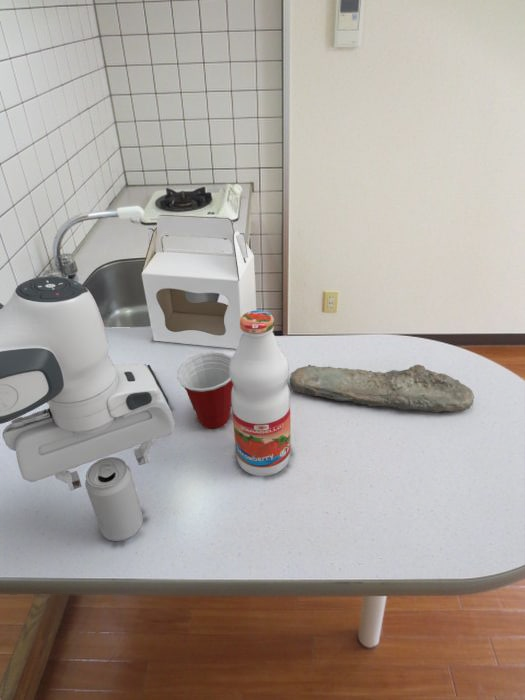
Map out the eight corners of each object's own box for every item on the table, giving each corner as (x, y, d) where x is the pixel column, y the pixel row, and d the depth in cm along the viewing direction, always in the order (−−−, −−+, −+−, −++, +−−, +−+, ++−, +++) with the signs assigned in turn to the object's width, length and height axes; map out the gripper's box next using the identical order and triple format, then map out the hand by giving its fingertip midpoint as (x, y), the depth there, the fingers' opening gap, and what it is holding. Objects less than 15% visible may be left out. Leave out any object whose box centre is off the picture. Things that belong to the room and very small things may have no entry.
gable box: (258, 319, 128) (252, 207, 112) (244, 350, 117) (236, 231, 101) (172, 312, 132) (155, 203, 116) (152, 341, 122) (130, 226, 106)
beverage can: (101, 548, 77) (82, 494, 70) (101, 514, 82) (83, 460, 75) (145, 537, 78) (131, 483, 71) (142, 504, 83) (128, 450, 76)
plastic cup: (179, 407, 102) (171, 357, 95) (233, 395, 105) (228, 345, 98) (190, 445, 94) (181, 393, 87) (248, 431, 96) (244, 379, 89)
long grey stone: (295, 373, 112) (286, 406, 104) (293, 354, 108) (284, 386, 101) (470, 385, 103) (474, 421, 96) (474, 365, 100) (478, 400, 92)
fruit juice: (291, 438, 94) (291, 302, 78) (289, 479, 86) (288, 337, 70) (239, 436, 95) (228, 301, 79) (232, 476, 87) (218, 335, 71)
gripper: (-2, 442, 60) (35, 518, 68) (170, 386, 67) (185, 462, 75) (-5, 409, 65) (30, 484, 73) (156, 361, 71) (171, 434, 79)
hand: (109, 473), depth 74 cm, fingers open, 8 cm apart
